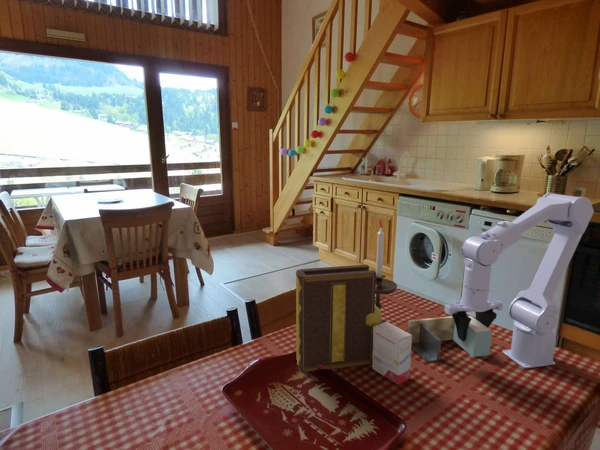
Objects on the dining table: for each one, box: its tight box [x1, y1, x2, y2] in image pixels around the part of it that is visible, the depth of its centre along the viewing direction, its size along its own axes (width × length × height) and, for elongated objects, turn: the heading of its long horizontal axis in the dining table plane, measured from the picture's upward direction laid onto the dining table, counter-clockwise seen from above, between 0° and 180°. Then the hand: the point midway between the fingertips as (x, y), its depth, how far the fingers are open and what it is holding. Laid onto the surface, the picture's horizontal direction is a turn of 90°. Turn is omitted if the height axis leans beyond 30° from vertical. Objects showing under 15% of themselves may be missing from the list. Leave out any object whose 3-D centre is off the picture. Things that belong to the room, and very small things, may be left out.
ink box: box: [372, 321, 412, 386], centre depth 91 cm, size 9×5×12 cm, turn 33°
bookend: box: [411, 324, 442, 363], centre depth 101 cm, size 4×9×6 cm, turn 11°
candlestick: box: [375, 217, 398, 325], centre depth 112 cm, size 11×11×35 cm
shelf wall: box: [407, 315, 454, 343], centre depth 107 cm, size 18×1×7 cm, turn 101°
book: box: [295, 264, 383, 373], centre depth 95 cm, size 22×8×25 cm, turn 102°
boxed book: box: [452, 315, 493, 358], centre depth 92 cm, size 4×8×6 cm, turn 11°
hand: (470, 338), depth 92 cm, fingers closed on boxed book, 4 cm apart
